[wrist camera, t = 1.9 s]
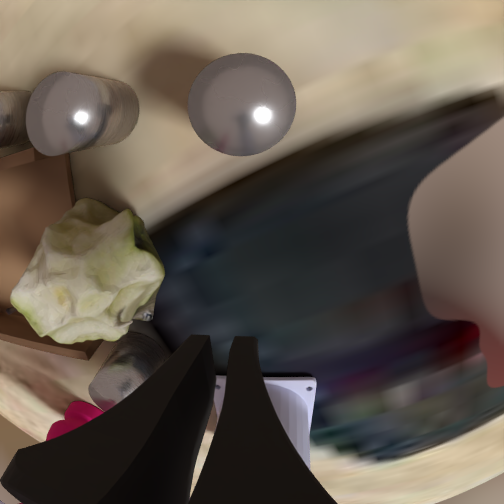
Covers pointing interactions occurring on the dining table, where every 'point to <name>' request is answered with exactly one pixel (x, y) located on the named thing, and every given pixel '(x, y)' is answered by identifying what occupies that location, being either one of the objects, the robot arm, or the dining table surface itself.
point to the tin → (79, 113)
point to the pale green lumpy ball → (90, 276)
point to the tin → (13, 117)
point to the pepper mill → (73, 419)
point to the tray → (31, 236)
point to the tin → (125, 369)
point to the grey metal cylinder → (241, 104)
